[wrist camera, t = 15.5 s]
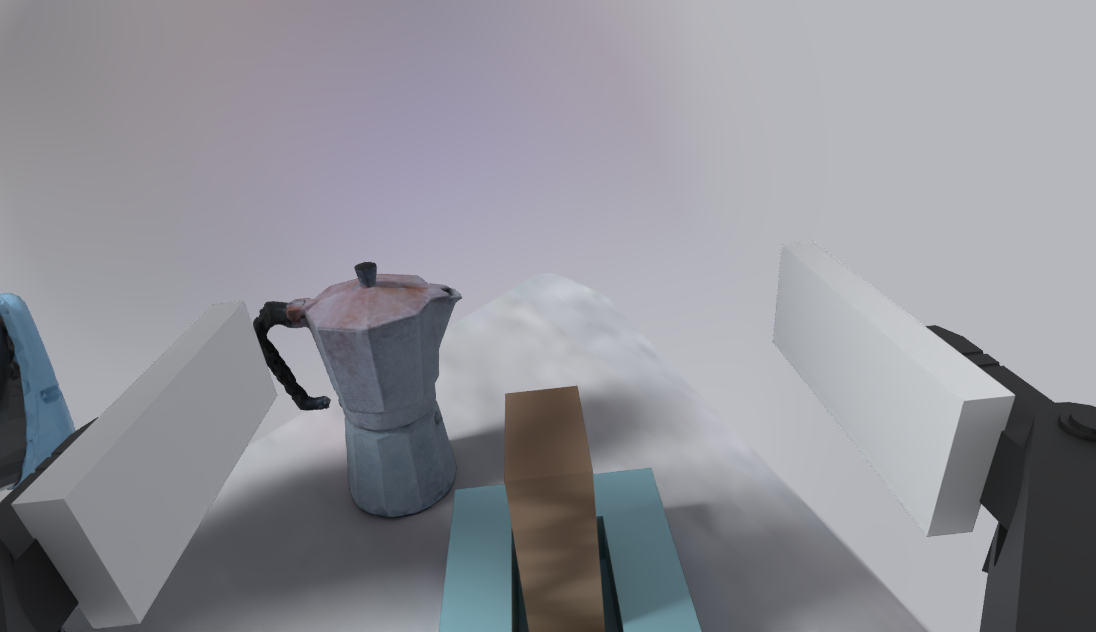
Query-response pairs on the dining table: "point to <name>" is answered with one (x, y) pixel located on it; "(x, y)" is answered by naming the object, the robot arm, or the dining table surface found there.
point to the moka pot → (378, 382)
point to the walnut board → (553, 510)
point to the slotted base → (624, 551)
